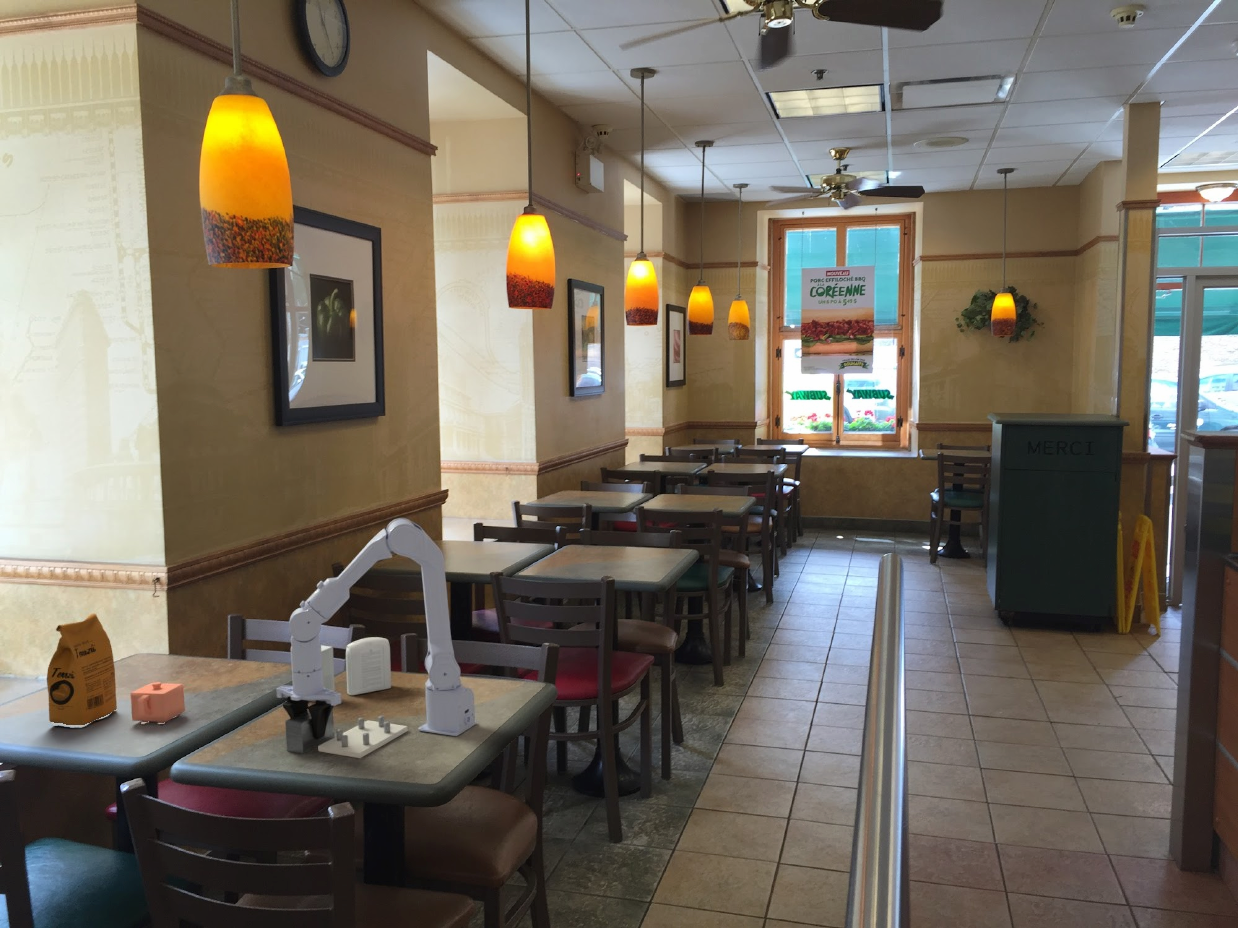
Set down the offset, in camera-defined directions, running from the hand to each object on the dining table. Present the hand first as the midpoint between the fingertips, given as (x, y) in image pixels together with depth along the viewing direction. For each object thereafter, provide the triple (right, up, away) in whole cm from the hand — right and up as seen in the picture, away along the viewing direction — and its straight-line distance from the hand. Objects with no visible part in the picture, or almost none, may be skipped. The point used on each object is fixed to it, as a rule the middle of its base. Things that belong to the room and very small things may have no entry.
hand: (310, 735), depth 189 cm
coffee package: (-55, -2, +17) cm, 57 cm away
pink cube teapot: (-38, -1, +17) cm, 41 cm away
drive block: (0, -2, 0) cm, 2 cm away
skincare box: (-7, 0, +27) cm, 28 cm away
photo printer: (+3, +1, +32) cm, 33 cm away
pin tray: (+10, -1, +1) cm, 10 cm away
